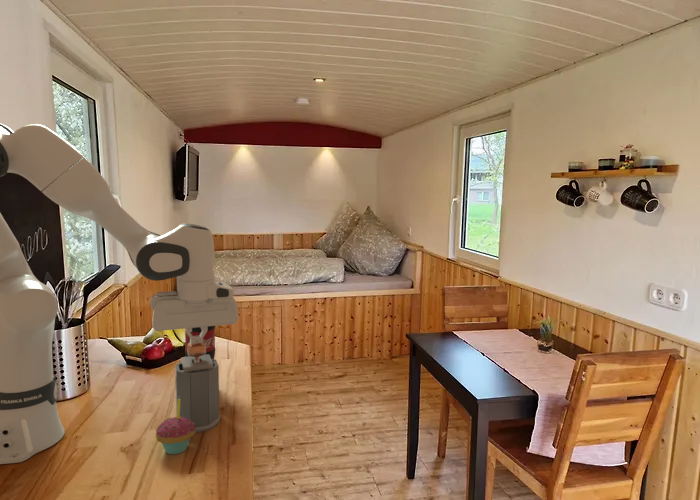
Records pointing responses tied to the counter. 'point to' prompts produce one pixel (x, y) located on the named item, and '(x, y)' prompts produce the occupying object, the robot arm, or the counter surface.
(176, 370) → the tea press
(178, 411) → the cupcake
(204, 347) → the plunger
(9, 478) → the counter surface
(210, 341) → the cola bottle
